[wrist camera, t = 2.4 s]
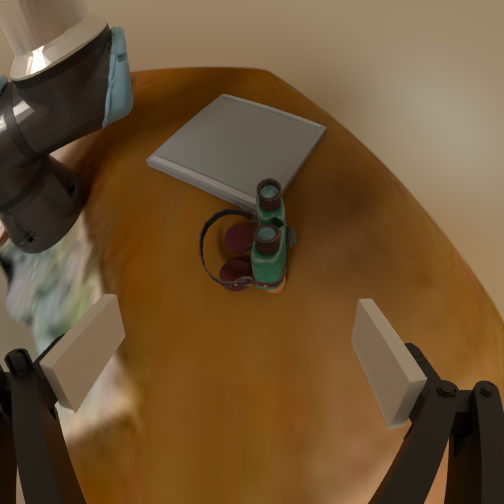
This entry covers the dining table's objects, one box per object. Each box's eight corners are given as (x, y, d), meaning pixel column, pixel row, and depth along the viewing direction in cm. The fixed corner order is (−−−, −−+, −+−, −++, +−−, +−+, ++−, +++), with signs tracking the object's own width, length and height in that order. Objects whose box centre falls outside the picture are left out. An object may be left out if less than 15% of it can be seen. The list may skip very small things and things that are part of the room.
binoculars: (189, 171, 26) (296, 168, 25) (214, 229, 36) (296, 230, 34) (168, 255, 22) (297, 258, 21) (203, 299, 32) (294, 303, 30)
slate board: (148, 165, 40) (145, 158, 39) (223, 98, 48) (222, 92, 46) (265, 219, 35) (265, 212, 34) (325, 132, 43) (327, 125, 42)
